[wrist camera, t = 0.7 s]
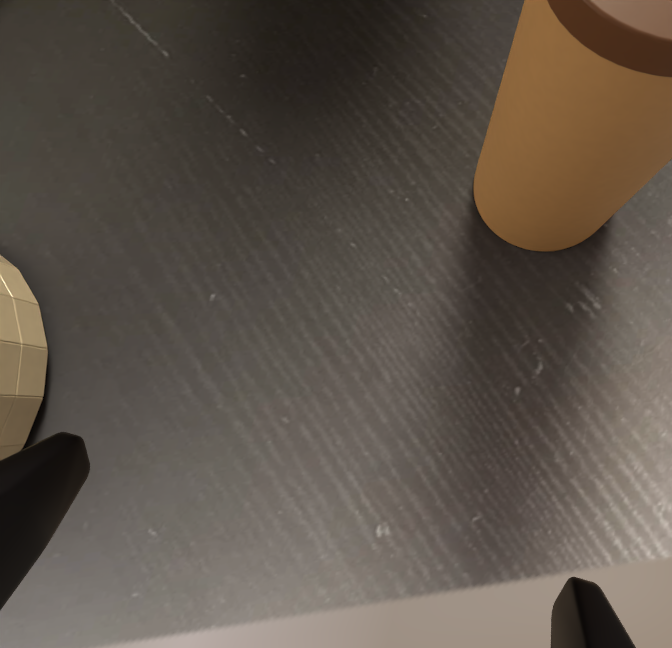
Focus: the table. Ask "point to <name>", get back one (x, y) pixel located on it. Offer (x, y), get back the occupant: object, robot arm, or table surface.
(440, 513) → the table surface
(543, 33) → the canister
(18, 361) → the bowl
